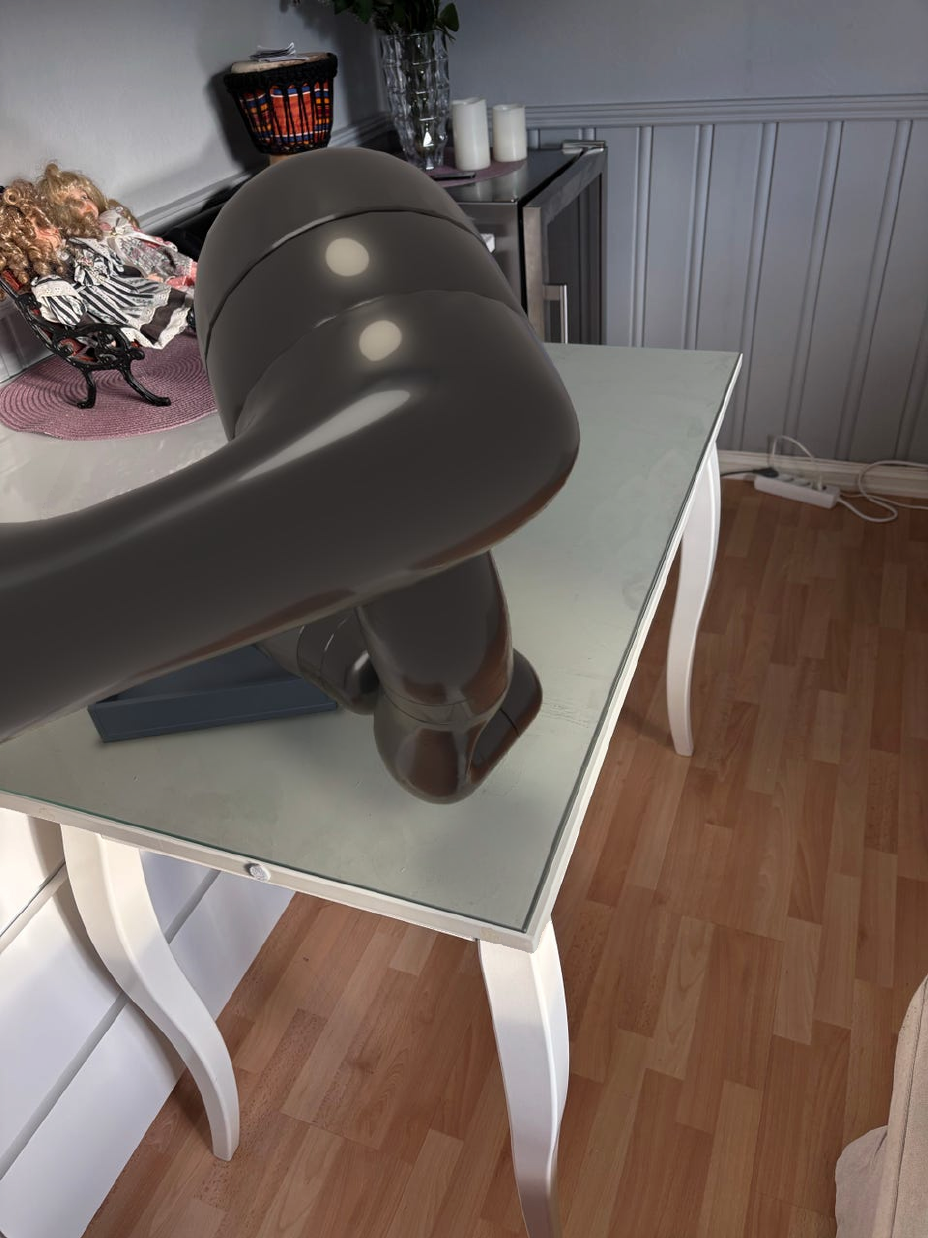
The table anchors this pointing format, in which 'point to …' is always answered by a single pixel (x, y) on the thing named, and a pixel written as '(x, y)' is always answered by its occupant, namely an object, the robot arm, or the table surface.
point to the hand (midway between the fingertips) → (178, 536)
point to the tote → (208, 698)
